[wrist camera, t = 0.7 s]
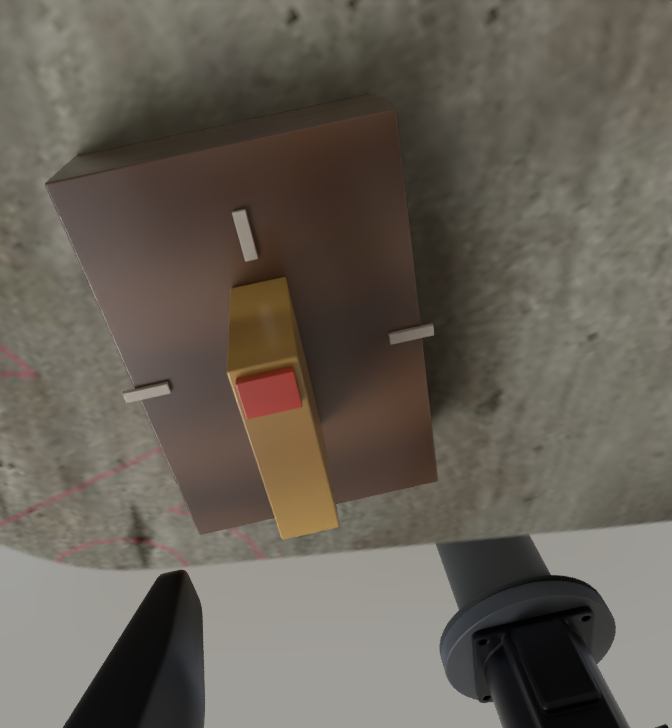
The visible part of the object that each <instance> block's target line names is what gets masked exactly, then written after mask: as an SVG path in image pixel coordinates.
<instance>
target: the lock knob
mask: <svg viewBox="0 0 672 728" xmlns="http://www.w3.org/2000/svg"><path fill="white" fill-rule="evenodd" d="M227 375H228V378H229V381H230V384H231V387H232V390H233V393H234V397H235V400H236V403H237V406H238V409H239V412H240V415H241V418H242V421H243V424H244V427H245V430H246V433H247V436H248V439H249V442H250V445H251V448H252V451H253V454H254V457H255V460H256V463H257V466H258V469H259V472H260V475H261V478H262V481H263V484H264V487H265V490H266V493H267V496H268V499H269V502H270V505H271V508H272V511H273V514H274V517H275V520H276V523H277V526H278V529H279V532H280V535H281V538H282V539H288V538H292V537H297V536H301V535H306V534H310V533H314V532H319V531H323V530H328V529H332V528H337V527H339V525H340V524H339V518H338V513H337V507H336V502H335V496H334V491H333V485H332V480H331V474H330V469H329V463H328V458H327V452H326V447H325V441H324V436H323V430H322V425H321V421H320V417H319V413H318V408H317V404H316V400H315V396H314V392H313V388H312V383H311V379H310V375H309V371H308V367H307V363H306V359H305V354H304V350H303V346H302V342H301V338H300V334H299V330H298V325H297V321H296V317H295V313H294V309H293V305H292V300H291V296H290V292H289V288H288V284H287V280H286V277H282V278H277V279H272V280H268V281H263V282H259V283H254V284H250V285H245V286H240V287H236V288H232V289H231V295H230V316H229V336H228V357H227Z"/></svg>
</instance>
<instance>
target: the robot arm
mask: <svg viewBox="0 0 672 728" xmlns="http://www.w3.org/2000/svg"><path fill="white" fill-rule="evenodd" d="M594 622H595V614H594V612H593V611H592V609H591V607H589V606H581V607H576V608H572V609H568V610H563V611H559V612H555V613H550V614H546V615H542V616H537V617H533V618H529V619H524V620H520V621H516V622H511V623H507V624H503V625H498V626H494V627H490V628H485V629H481V630H478V631H476V632H474V633H473V634H472V637H471V639H472V651H473V662H474V674H475V685H476V694H477V697H478V700H479V701H480V702H481V703H487V702H492V701H493V702H494V705H495V707H496V710H497V713H498V716H499V719H500V721H501V724H502V727H503V728H630V726H629V725H628V723H627V721H626V719H625V717H624V715H623V713H622V711H621V710H620V708H619V706H618V704H617V702H616V700H615V698H614V696H613V695H612V693H611V691H610V689H609V687H608V685H607V683H606V681H605V679H604V678H603V676H602V674H601V672H600V670H599V668H598V666H597V664H596V663H595V661H594V659H593V657H592V655H591V652H592V642H593V632H594ZM204 685H205V684H204V651H203V620H202V607H201V603H200V599H199V597H198V595H197V593H196V590H195V588H194V586H193V584H192V582H191V579H190V577H189V575H188V573H187V572H186V571H185V570H177V571H173V572H168V573H164V574H161V575H160V576H159V577H158V578H157V579H156V581H155V583H154V584H153V586H152V587H151V589H150V591H149V592H148V594H147V595H146V597H145V598H144V600H143V602H142V603H141V605H140V606H139V608H138V609H137V611H136V613H135V614H134V616H133V617H132V619H131V621H130V622H129V624H128V625H127V627H126V628H125V630H124V632H123V633H122V635H121V637H120V638H119V639H118V641H117V643H116V644H115V646H114V648H113V649H112V651H111V652H110V654H109V655H108V657H107V659H106V660H105V662H104V663H103V665H102V666H101V668H100V670H99V671H98V673H97V674H96V676H95V678H94V679H93V681H92V682H91V684H90V685H89V687H88V689H87V690H86V692H85V693H84V695H83V697H82V698H81V700H80V701H79V703H78V705H77V706H76V708H75V709H74V711H73V713H72V714H71V716H70V717H69V719H68V720H67V722H66V723H65V725H64V727H63V728H204V717H205V686H204ZM656 728H668V726H667V725H666V724H664V725H662V726H659V727H656Z"/></svg>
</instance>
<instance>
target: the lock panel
mask: <svg viewBox="0 0 672 728" xmlns="http://www.w3.org/2000/svg"><path fill="white" fill-rule="evenodd" d="M45 186H46V188H47V190H48V192H49V195H50V197H51V199H52V201H53V204H54V206H55V208H56V211H57V213H58V215H59V217H60V220H61V222H62V224H63V226H64V229H65V231H66V233H67V235H68V238H69V240H70V242H71V245H72V247H73V249H74V251H75V254H76V256H77V258H78V260H79V263H80V265H81V267H82V270H83V272H84V274H85V276H86V279H87V281H88V283H89V285H90V288H91V290H92V292H93V294H94V297H95V299H96V301H97V304H98V306H99V308H100V310H101V313H102V315H103V317H104V319H105V322H106V324H107V326H108V328H109V331H110V333H111V335H112V338H113V340H114V342H115V344H116V347H117V349H118V351H119V353H120V356H121V358H122V360H123V363H124V365H125V367H126V369H127V372H128V374H129V376H130V378H131V381H132V383H133V385H134V387H135V389H131V390H127V391H123V397H124V399H125V401H126V403H129V402H134V401H139V400H140V401H141V403H142V406H143V408H144V410H145V412H146V415H147V417H148V419H149V422H150V424H151V426H152V428H153V431H154V433H155V435H156V437H157V440H158V442H159V444H160V446H161V449H162V451H163V453H164V456H165V458H166V460H167V462H168V465H169V467H170V469H171V471H172V474H173V476H174V478H175V480H176V483H177V485H178V487H179V490H180V492H181V494H182V496H183V499H184V501H185V503H186V505H187V508H188V510H189V512H190V515H191V517H192V519H193V521H194V524H195V526H196V528H197V530H198V533H199V534H200V535H201V534H206V533H210V532H215V531H219V530H223V529H228V528H232V527H237V526H241V525H245V524H250V523H254V522H259V521H263V520H268V519H272V518H275V517H274V514H273V511H272V508H271V505H270V502H269V499H268V496H267V493H266V490H265V487H264V484H263V481H262V478H261V475H260V472H259V469H258V466H257V463H256V460H255V457H254V454H253V451H252V448H251V445H250V442H249V439H248V436H247V433H246V430H245V427H244V424H243V421H242V418H241V415H240V412H239V409H238V406H237V403H236V400H235V397H234V393H233V390H232V387H231V384H230V381H229V378H228V375H227V357H228V336H229V316H230V295H231V289H232V288H236V287H240V286H245V285H250V284H254V283H259V282H263V281H268V280H272V279H277V278H282V277H286V280H287V284H288V288H289V292H290V296H291V300H292V305H293V309H294V313H295V317H296V321H297V325H298V330H299V334H300V338H301V342H302V346H303V350H304V354H305V359H306V363H307V367H308V371H309V375H310V379H311V383H312V388H313V392H314V396H315V400H316V404H317V408H318V413H319V417H320V421H321V425H322V430H323V436H324V441H325V447H326V452H327V458H328V463H329V469H330V474H331V480H332V485H333V491H334V496H335V502H336V504H338V503H343V502H347V501H352V500H356V499H361V498H365V497H369V496H374V495H378V494H383V493H387V492H392V491H396V490H400V489H405V488H409V487H414V486H418V485H423V484H427V483H431V482H436V481H438V476H437V467H436V458H435V449H434V440H433V431H432V422H431V413H430V404H429V395H428V386H427V377H426V368H425V359H424V350H423V341H422V338H423V337H428V336H433V335H434V326H433V324H432V323H431V324H426V325H421V323H420V314H419V305H418V296H417V287H416V278H415V269H414V260H413V251H412V242H411V233H410V224H409V215H408V206H407V197H406V188H405V179H404V170H403V161H402V152H401V143H400V135H399V126H398V117H397V110H396V108H394V107H393V106H392V105H390V104H389V103H387V102H386V101H384V100H383V99H382V98H380V97H379V96H377V95H376V94H374V93H373V94H368V95H363V96H358V97H354V98H349V99H344V100H340V101H335V102H330V103H326V104H321V105H316V106H311V107H307V108H302V109H297V110H293V111H288V112H283V113H279V114H274V115H269V116H264V117H260V118H255V119H250V120H246V121H241V122H236V123H232V124H227V125H222V126H217V127H213V128H208V129H203V130H199V131H194V132H189V133H185V134H180V135H175V136H170V137H166V138H161V139H156V140H152V141H147V142H142V143H138V144H133V145H128V146H123V147H119V148H114V149H109V150H105V151H100V152H95V153H91V154H86V155H81V156H76V157H74V158H73V159H72V160H71V161H70V162H68V163H67V164H66V165H65V166H64V167H63V168H62V169H61V170H60V171H58V172H57V173H56V174H55V175H54V176H53V177H52V178H51V179H50V180H49V181H47V182H46V183H45Z"/></svg>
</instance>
